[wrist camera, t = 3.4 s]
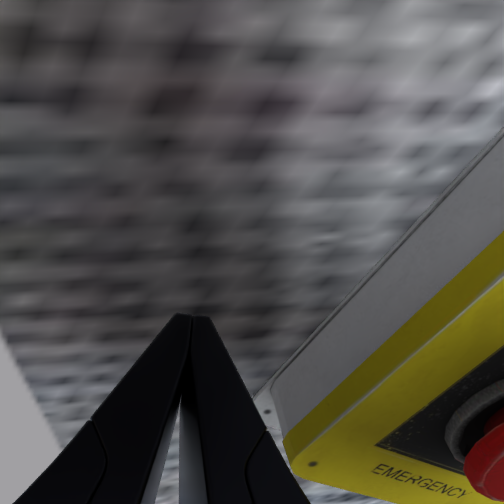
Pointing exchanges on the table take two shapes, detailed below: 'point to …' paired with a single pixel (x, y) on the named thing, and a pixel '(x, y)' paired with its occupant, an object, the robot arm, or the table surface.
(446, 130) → the table surface
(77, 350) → the table surface
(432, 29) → the table surface
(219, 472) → the robot arm
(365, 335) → the emergency button
